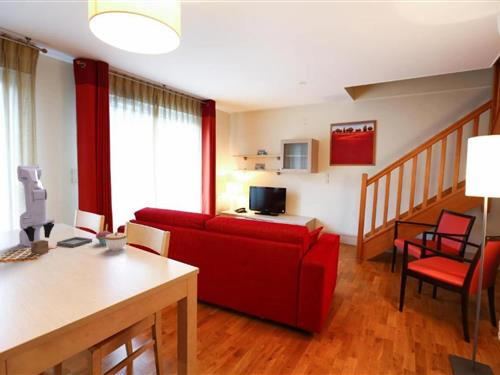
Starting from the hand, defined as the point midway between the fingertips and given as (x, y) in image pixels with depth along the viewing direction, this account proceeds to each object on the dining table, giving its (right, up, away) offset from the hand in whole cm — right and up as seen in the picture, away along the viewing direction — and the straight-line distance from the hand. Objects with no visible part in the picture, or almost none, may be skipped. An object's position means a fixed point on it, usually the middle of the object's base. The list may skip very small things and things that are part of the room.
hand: (39, 239), depth 136 cm
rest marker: (-1, -6, +9) cm, 11 cm away
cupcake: (+22, -6, +20) cm, 31 cm away
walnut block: (0, -7, +1) cm, 7 cm away
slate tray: (+6, -6, +19) cm, 20 cm away
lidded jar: (+34, -8, +11) cm, 36 cm away
